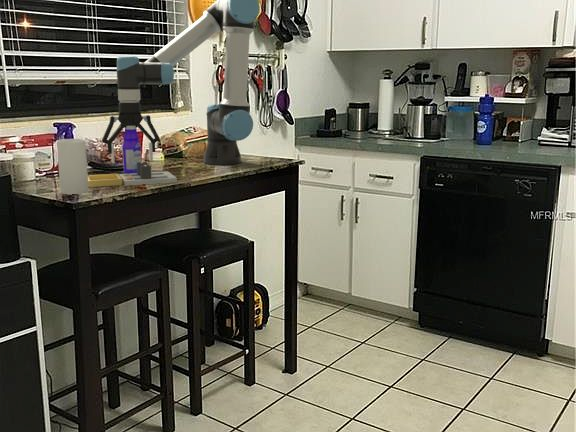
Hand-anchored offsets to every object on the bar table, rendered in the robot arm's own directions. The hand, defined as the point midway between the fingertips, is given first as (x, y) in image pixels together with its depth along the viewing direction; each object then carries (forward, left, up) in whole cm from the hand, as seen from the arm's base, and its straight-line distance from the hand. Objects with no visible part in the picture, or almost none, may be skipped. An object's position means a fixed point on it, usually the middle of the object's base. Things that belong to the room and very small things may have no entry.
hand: (132, 161), depth 224 cm
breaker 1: (-1, +12, -3) cm, 12 cm away
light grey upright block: (+22, +27, -5) cm, 35 cm away
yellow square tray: (+12, +15, -4) cm, 20 cm away
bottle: (0, 0, -5) cm, 5 cm away
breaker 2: (-1, +19, -3) cm, 19 cm away
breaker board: (-3, +15, -4) cm, 16 cm away
